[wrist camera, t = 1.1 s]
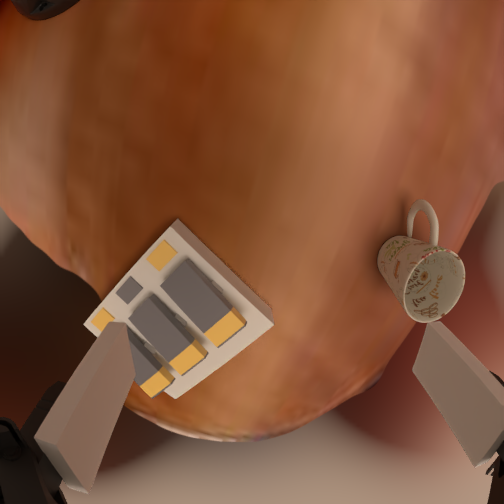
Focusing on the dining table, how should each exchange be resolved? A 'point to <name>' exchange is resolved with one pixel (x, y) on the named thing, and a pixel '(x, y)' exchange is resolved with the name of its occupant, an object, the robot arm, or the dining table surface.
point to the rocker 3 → (203, 303)
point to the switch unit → (148, 283)
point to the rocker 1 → (168, 335)
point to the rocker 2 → (148, 369)
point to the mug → (422, 270)
